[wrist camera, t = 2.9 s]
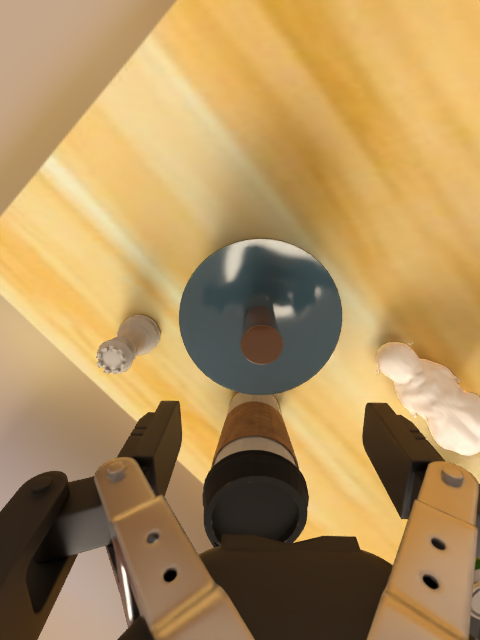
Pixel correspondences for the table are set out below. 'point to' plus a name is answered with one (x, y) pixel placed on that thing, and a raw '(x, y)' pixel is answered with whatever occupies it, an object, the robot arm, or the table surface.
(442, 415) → the white figurine
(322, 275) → the lid
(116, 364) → the rook chess piece
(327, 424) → the table surface
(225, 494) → the coffee cup
